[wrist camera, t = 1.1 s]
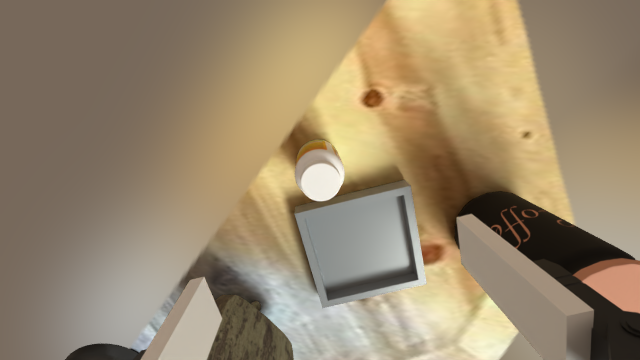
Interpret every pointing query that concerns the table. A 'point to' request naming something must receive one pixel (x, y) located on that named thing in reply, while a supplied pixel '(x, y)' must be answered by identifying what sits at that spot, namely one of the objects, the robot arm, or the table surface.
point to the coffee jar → (560, 246)
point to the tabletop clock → (247, 333)
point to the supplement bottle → (319, 170)
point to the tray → (362, 243)
